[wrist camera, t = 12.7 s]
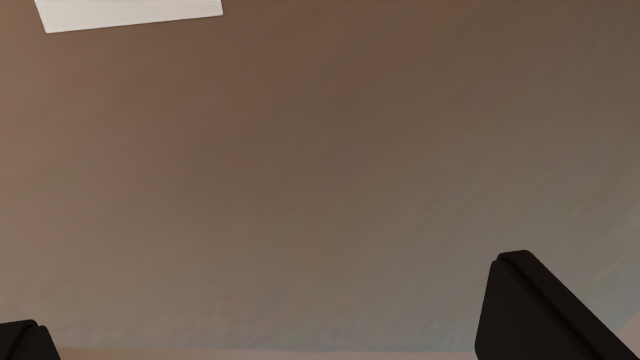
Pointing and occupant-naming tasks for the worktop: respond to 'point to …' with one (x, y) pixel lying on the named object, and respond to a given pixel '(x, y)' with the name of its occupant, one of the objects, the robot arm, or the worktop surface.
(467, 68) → the worktop surface
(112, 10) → the lid
